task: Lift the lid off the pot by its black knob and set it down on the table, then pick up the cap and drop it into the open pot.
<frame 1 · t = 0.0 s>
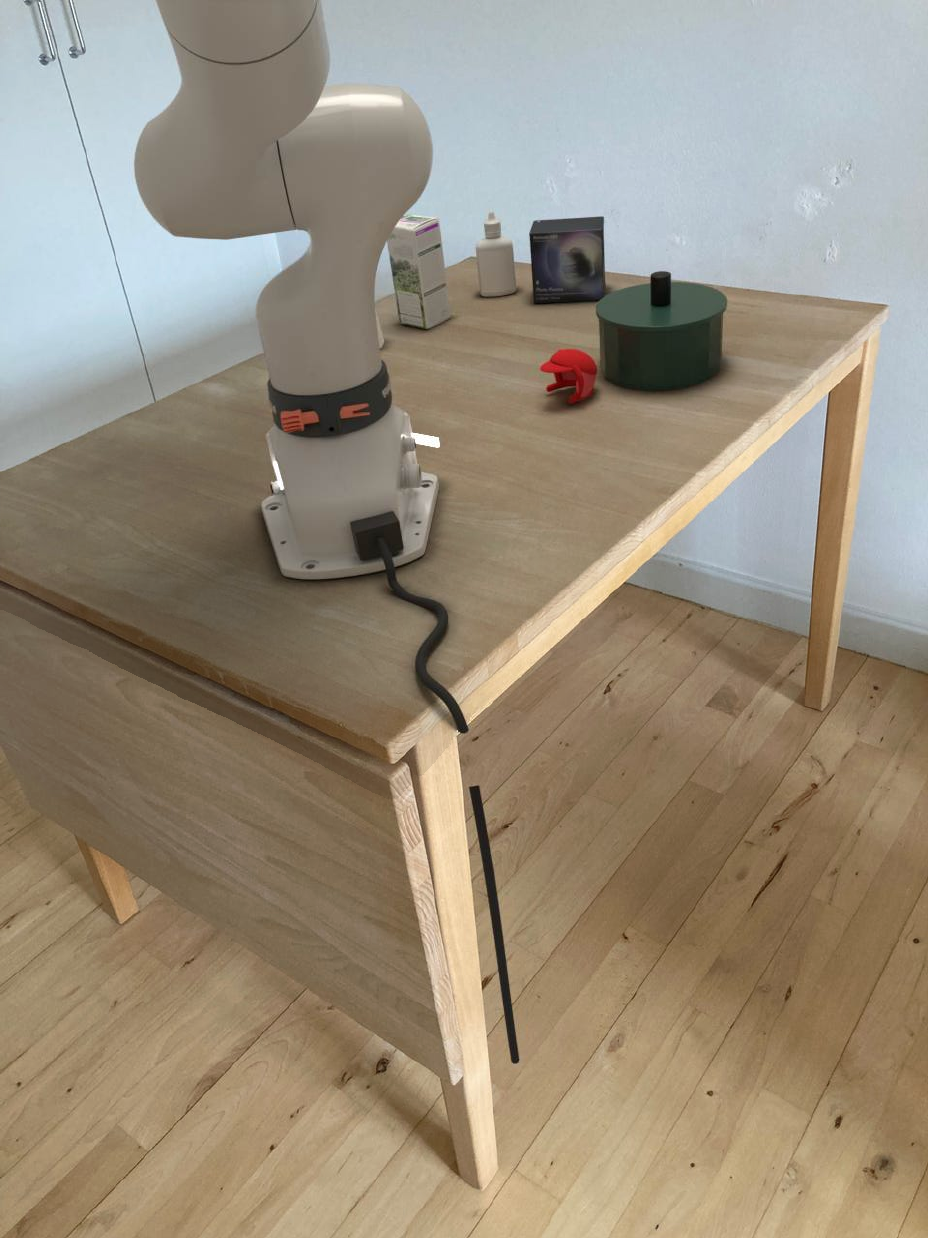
salt shaker: (366, 347, 147), on the table
small box: (569, 297, 155), on the table
eye dropper bottle: (498, 294, 159), on the table
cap: (569, 398, 125), on the table
pot: (660, 366, 129), on the table
syrup box: (425, 322, 153), on the table
lid: (660, 308, 125), point 7 cm above the table, touching pot
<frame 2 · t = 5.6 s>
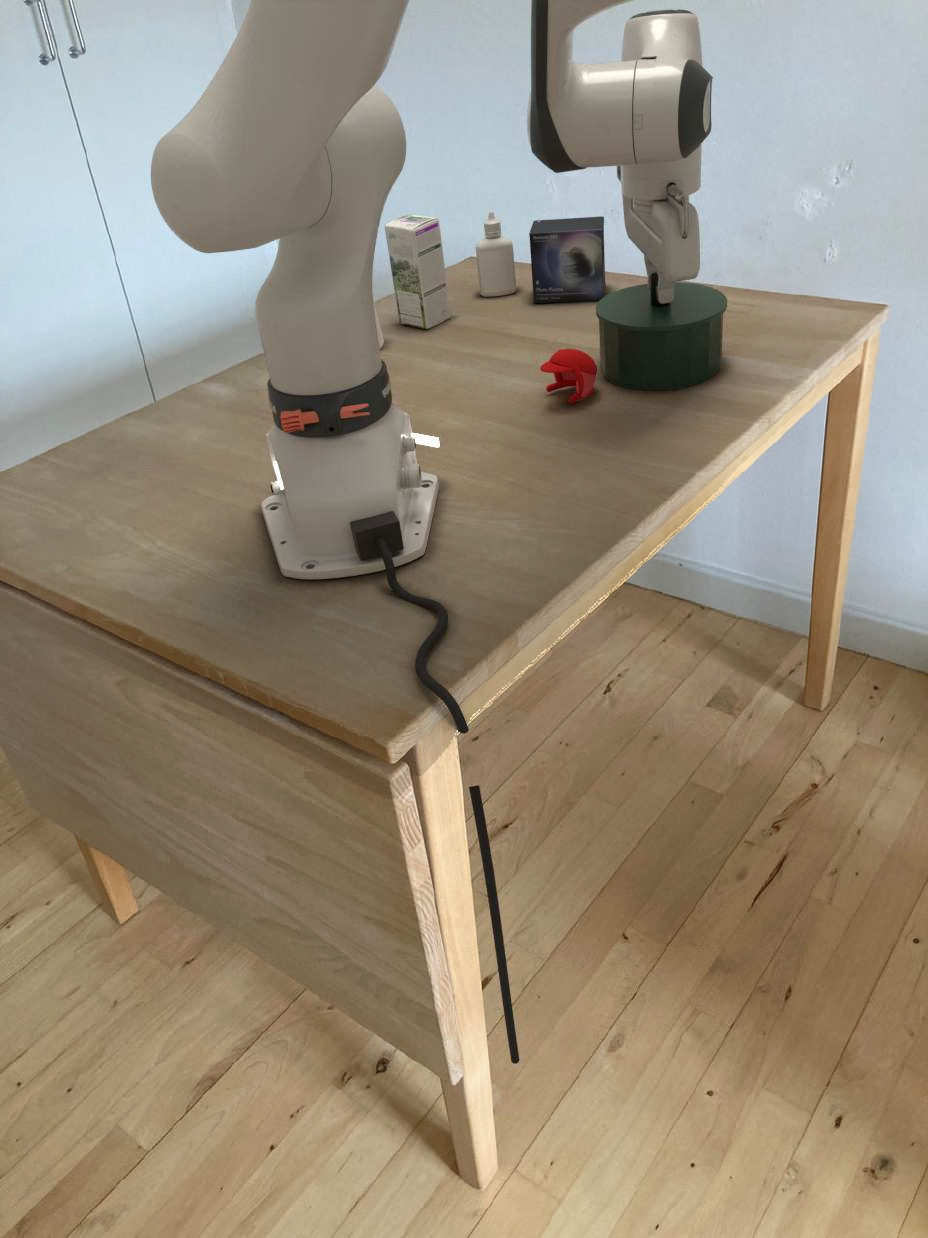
hand: (660, 296, 124), 9 cm above the table, tool pointing down, fingers closed on lid, 2 cm apart
lid: (660, 308, 125), point 7 cm above the table, touching gripper, pot
everything else where it was.
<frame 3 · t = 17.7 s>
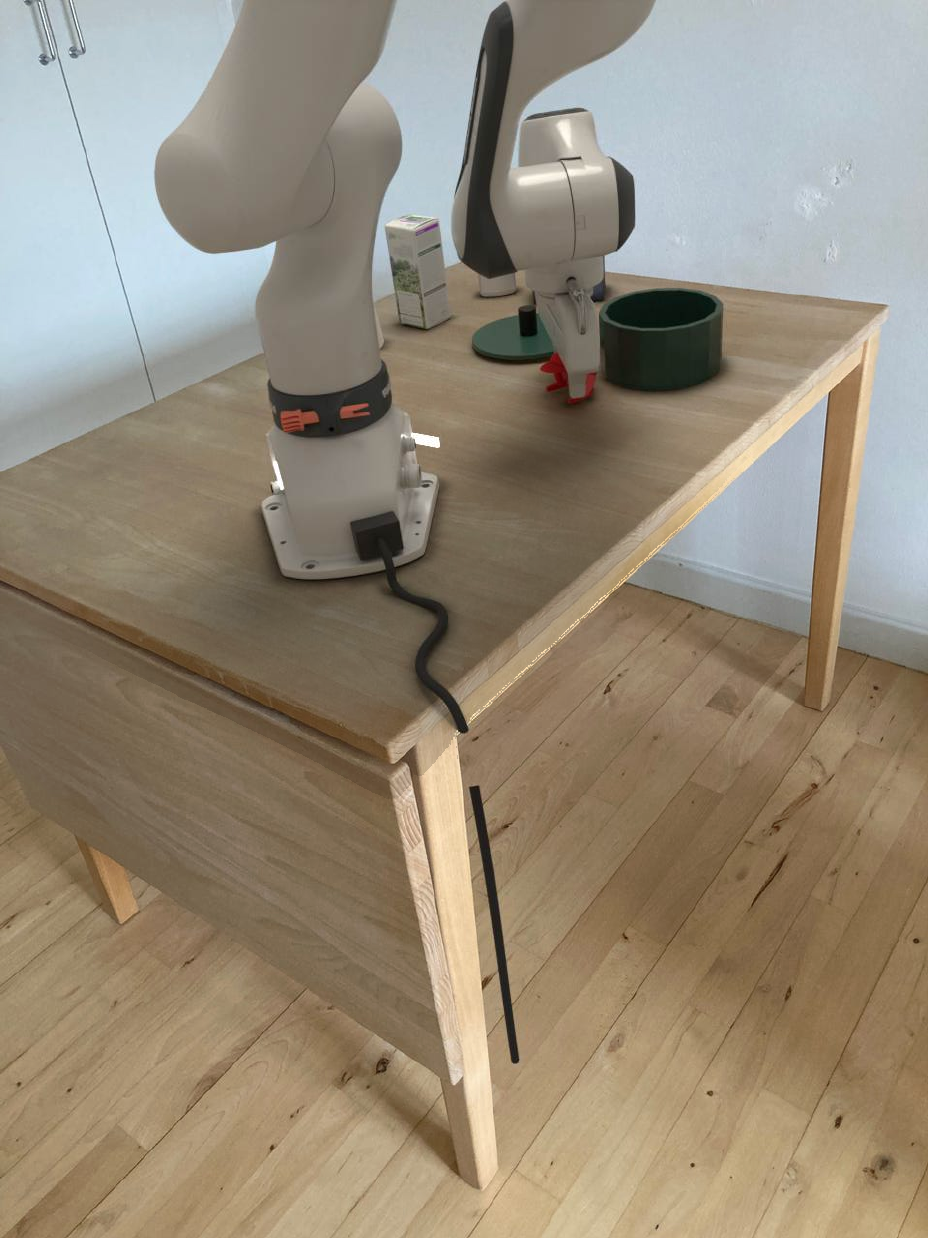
hand: (570, 382, 124), 2 cm above the table, tool pointing down, fingers closed on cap, 7 cm apart
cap: (569, 398, 125), on the table, touching gripper
lid: (529, 337, 141), point 1 cm above the table
everything else where it was.
when the fingers open (5 cm above the table, at t = 25.5 s): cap drops 2 cm, resting on pot.
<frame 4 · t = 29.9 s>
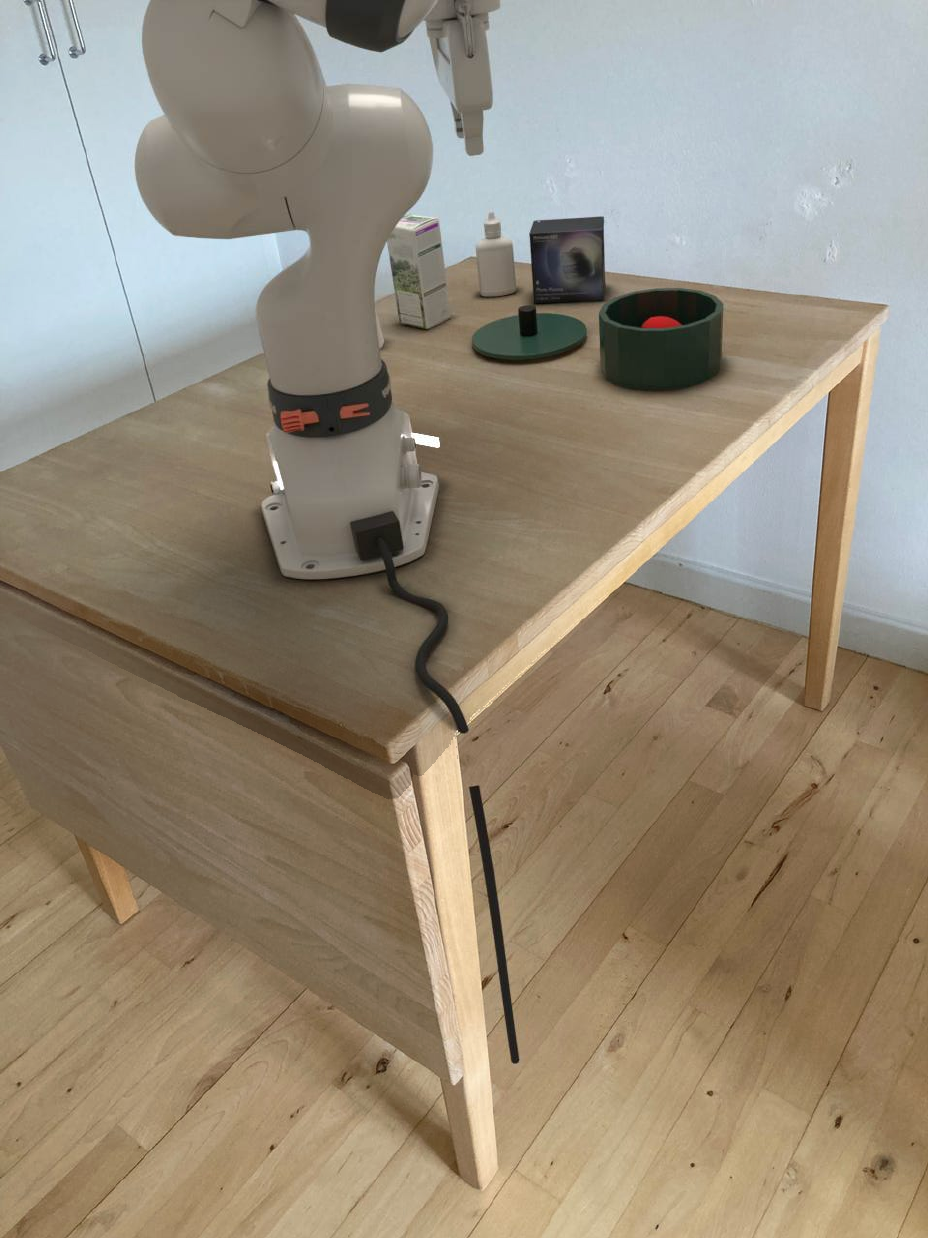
hand: (469, 144, 110), 29 cm above the table, tool pointing down, fingers open, 8 cm apart
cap: (659, 364, 129), resting on pot
everything else where it was.
at the end: lid inside the target area (0.4 cm from its centre), point 0.6 cm above the table; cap inside the target area in the pot (0.1 cm from its centre), point 0.3 cm above the pot's base; the gripper is holding nothing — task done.
